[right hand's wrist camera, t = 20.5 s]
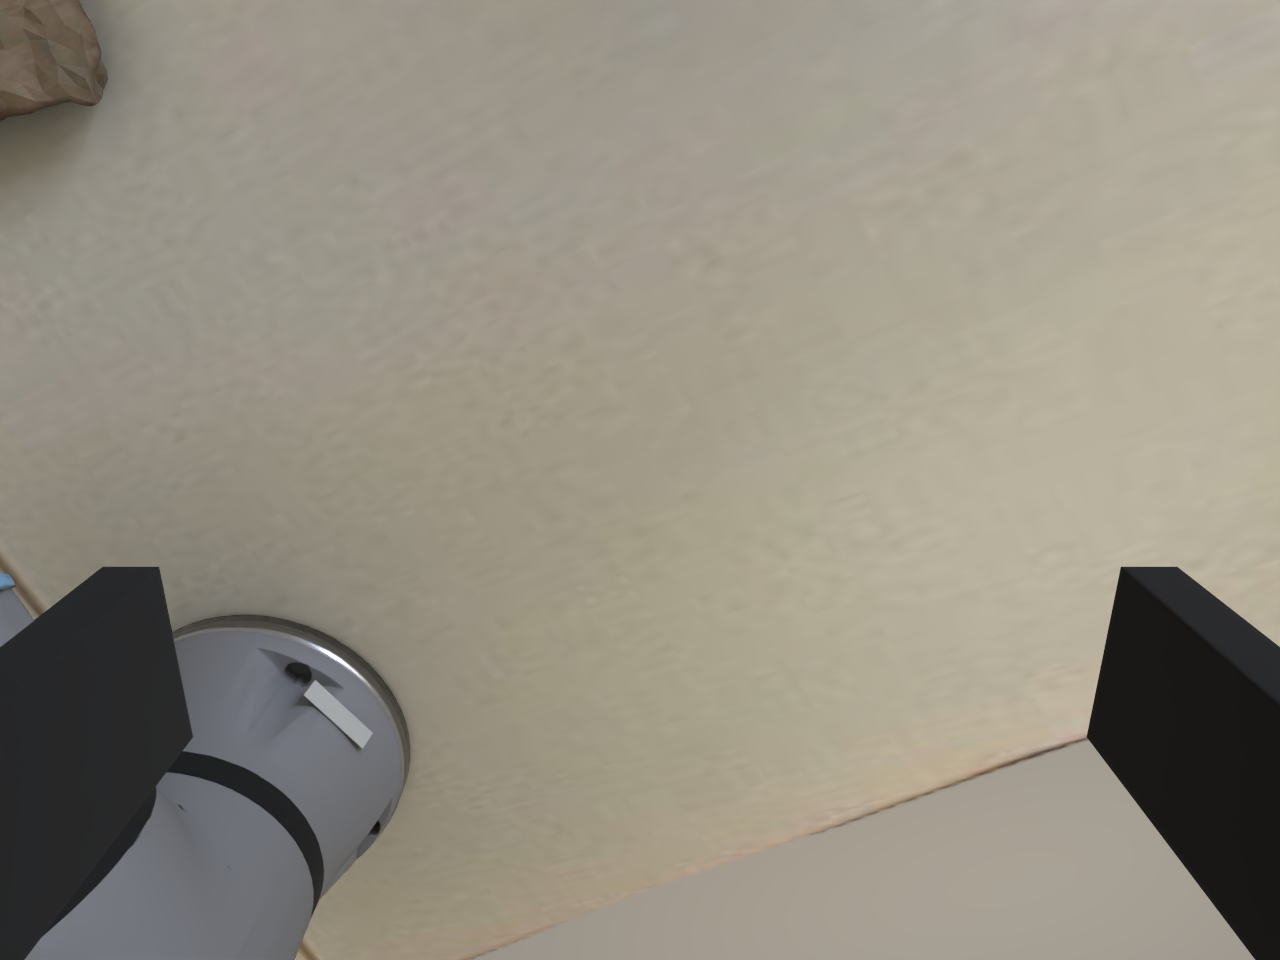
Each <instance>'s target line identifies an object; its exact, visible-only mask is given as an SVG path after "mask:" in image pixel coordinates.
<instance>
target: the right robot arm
mask: <svg viewBox="0 0 1280 960" xmlns="http://www.w3.org/2000/svg"><path fill="white" fill-rule="evenodd" d="M15 586H16V585H15V584H14V582H13V580H12V578H11V577H10V576H9V575H8V574H2V573H0V960H294V959H295V957H296V954H297V952H298V949H299V947H300V944H301V942H302V939H303V937H304V934H305V932H306V929H307V927H308V924H309V921H310V919H311V917H312V915H313V912H314V910H315V908H316V905H317V903H318V901H319V899H320V898H321V897H322V896H323V895H324V894H325V893H326V892H327V891H328V890H329V889H330V888H331V887H332V886H333V884H334V883H335V882H336V881H337V880H338V879H339V878H340V877H341V876H342V875H343V874H344V873H345V872H346V871H347V870H348V869H349V868H350V867H351V865H352V864H353V863H354V861H355V860H356V859H357V858H359V857H360V856H361V855H362V854H363V853H364V852H365V851H366V850H367V849H368V848H369V847H370V846H371V845H372V844H373V843H374V842H375V840H376V839H377V838H378V837H379V835H380V834H381V833H382V831H383V830H384V828H385V827H386V826H387V824H388V823H389V821H390V819H391V818H392V816H393V814H394V812H395V810H396V807H397V804H398V802H399V799H400V796H401V794H402V791H403V788H404V785H405V783H406V780H407V775H408V771H409V764H410V742H409V734H408V730H407V726H406V722H405V719H404V717H403V714H402V711H401V709H400V707H399V705H398V703H397V701H396V699H395V697H394V695H393V694H392V692H391V691H390V689H389V687H388V686H387V685H386V683H385V682H384V681H383V679H382V678H381V677H380V676H379V675H378V674H377V672H376V671H375V670H374V669H373V668H372V667H371V666H370V665H369V664H368V663H367V662H366V661H364V660H363V659H362V658H361V657H360V656H359V655H357V654H356V653H355V652H353V651H352V650H351V649H350V648H348V647H347V646H345V645H343V644H342V643H340V642H339V641H337V640H335V639H334V638H332V637H330V636H328V635H326V634H324V633H322V632H320V631H317V630H315V629H313V628H310V627H308V626H305V625H302V624H299V623H296V622H292V621H288V620H284V619H280V618H274V617H267V616H257V615H231V616H222V617H216V618H211V619H206V620H202V621H199V622H196V623H192V624H190V625H188V626H185V627H183V628H180V629H178V630H177V631H175V632H173V633H172V629H171V624H170V619H169V614H168V609H167V605H166V600H165V595H164V590H163V585H162V580H161V575H160V570H159V567H102V568H101V569H100V570H98V571H97V572H96V573H94V574H93V575H92V576H91V577H89V578H88V579H87V580H85V581H84V582H83V583H82V584H80V585H79V586H78V587H77V588H75V589H74V590H73V591H71V592H70V593H69V594H68V595H66V596H65V597H64V598H62V599H61V600H60V601H59V602H57V603H56V604H55V605H53V606H52V607H51V608H50V609H48V610H47V611H46V612H45V613H43V614H42V615H41V616H39V617H38V618H37V619H36V620H34V619H33V618H32V616H31V615H30V613H29V612H28V610H27V609H26V608H25V606H24V605H23V603H22V602H21V601H20V599H19V598H18V596H17V595H16V594H15V592H14V591H13V589H12V588H13V587H15ZM1087 738H1088V739H1089V741H1090V742H1091V743H1092V744H1093V746H1094V747H1095V748H1096V750H1097V751H1098V752H1099V754H1100V755H1101V756H1102V758H1103V759H1104V760H1105V762H1106V763H1107V764H1108V766H1109V767H1110V768H1111V770H1112V771H1113V772H1114V773H1115V775H1116V776H1117V777H1118V779H1119V780H1120V781H1121V783H1122V784H1123V785H1124V787H1125V788H1126V789H1127V791H1128V792H1129V793H1130V795H1131V796H1132V797H1133V799H1134V800H1135V801H1136V802H1137V804H1138V805H1139V806H1140V808H1141V809H1142V811H1143V812H1144V813H1145V814H1146V816H1147V817H1148V818H1149V820H1150V821H1151V822H1152V824H1153V825H1154V826H1155V828H1156V829H1157V830H1158V832H1159V833H1160V834H1161V835H1162V837H1163V838H1164V840H1165V841H1166V842H1167V844H1168V845H1169V846H1170V848H1171V849H1172V850H1173V851H1174V853H1175V854H1176V855H1177V857H1178V858H1179V859H1180V861H1181V862H1182V863H1183V865H1184V866H1185V867H1186V869H1187V870H1188V871H1189V873H1190V874H1191V875H1192V876H1193V878H1194V879H1195V880H1196V882H1197V883H1198V884H1199V886H1200V887H1201V888H1202V890H1203V891H1204V892H1205V894H1206V895H1207V896H1208V898H1209V899H1210V900H1211V902H1212V903H1213V904H1214V906H1215V907H1216V908H1217V910H1218V911H1219V912H1220V914H1221V915H1222V916H1223V918H1224V919H1225V920H1226V921H1227V923H1228V924H1229V925H1230V927H1231V928H1232V929H1233V931H1234V932H1235V933H1236V935H1237V936H1238V937H1239V939H1240V940H1241V941H1242V943H1243V944H1244V945H1245V946H1246V948H1247V949H1248V950H1249V952H1250V953H1251V954H1252V956H1253V957H1254V958H1255V960H1280V647H1279V646H1278V645H1276V644H1275V643H1274V642H1273V641H1271V640H1270V639H1269V638H1267V637H1266V636H1265V635H1264V634H1262V633H1261V632H1260V631H1258V630H1257V629H1256V628H1255V627H1253V626H1252V625H1251V624H1250V623H1248V622H1247V621H1246V620H1244V619H1243V618H1242V617H1241V616H1239V615H1238V614H1237V613H1235V612H1234V611H1233V610H1232V609H1230V608H1229V607H1228V606H1227V605H1225V604H1224V603H1223V602H1221V601H1220V600H1219V599H1218V598H1216V597H1215V596H1214V595H1212V594H1211V593H1210V592H1209V591H1207V590H1206V589H1205V588H1203V587H1202V586H1201V585H1200V584H1198V583H1197V582H1196V581H1195V580H1193V579H1192V578H1191V577H1189V576H1188V575H1187V574H1186V573H1184V572H1183V571H1182V570H1180V569H1179V568H1178V567H1121V570H1120V575H1119V580H1118V585H1117V590H1116V595H1115V600H1114V605H1113V609H1112V614H1111V619H1110V624H1109V629H1108V634H1107V639H1106V644H1105V649H1104V654H1103V659H1102V664H1101V669H1100V674H1099V679H1098V684H1097V689H1096V694H1095V699H1094V704H1093V709H1092V714H1091V719H1090V724H1089V729H1088V734H1087Z"/></svg>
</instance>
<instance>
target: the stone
mask: <svg viewBox="0 0 1280 960" xmlns="http://www.w3.org/2000/svg"><path fill="white" fill-rule="evenodd" d="M100 57H101V50H100V47H99V44H98V41H97V37H96V34H95V30H94V28H93V26H92V24H91V22H90V20H89V18H88V17H87V15H86V13H85V12H84V10H83V9H82V6H81V4H80V2H79V0H0V122H1V121H2V120H4V119H5V118H6V117H10V116H17V115H23V114H30V113H33V112H34V111H36V110H39V109H41V108H44V107H49V106H53V105H56V104H60V103H64V102H71V101H72V102H75V103H77V104H79V105H85V106H93V105H95V104H97V103H98V102H99V101H100V99H101V98H102V94H103V89H104V87H105V84H106V82H107V79H108V78H107V72H106V69H105V67H104V65H103V64H102V62H101V61H100Z"/></svg>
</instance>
